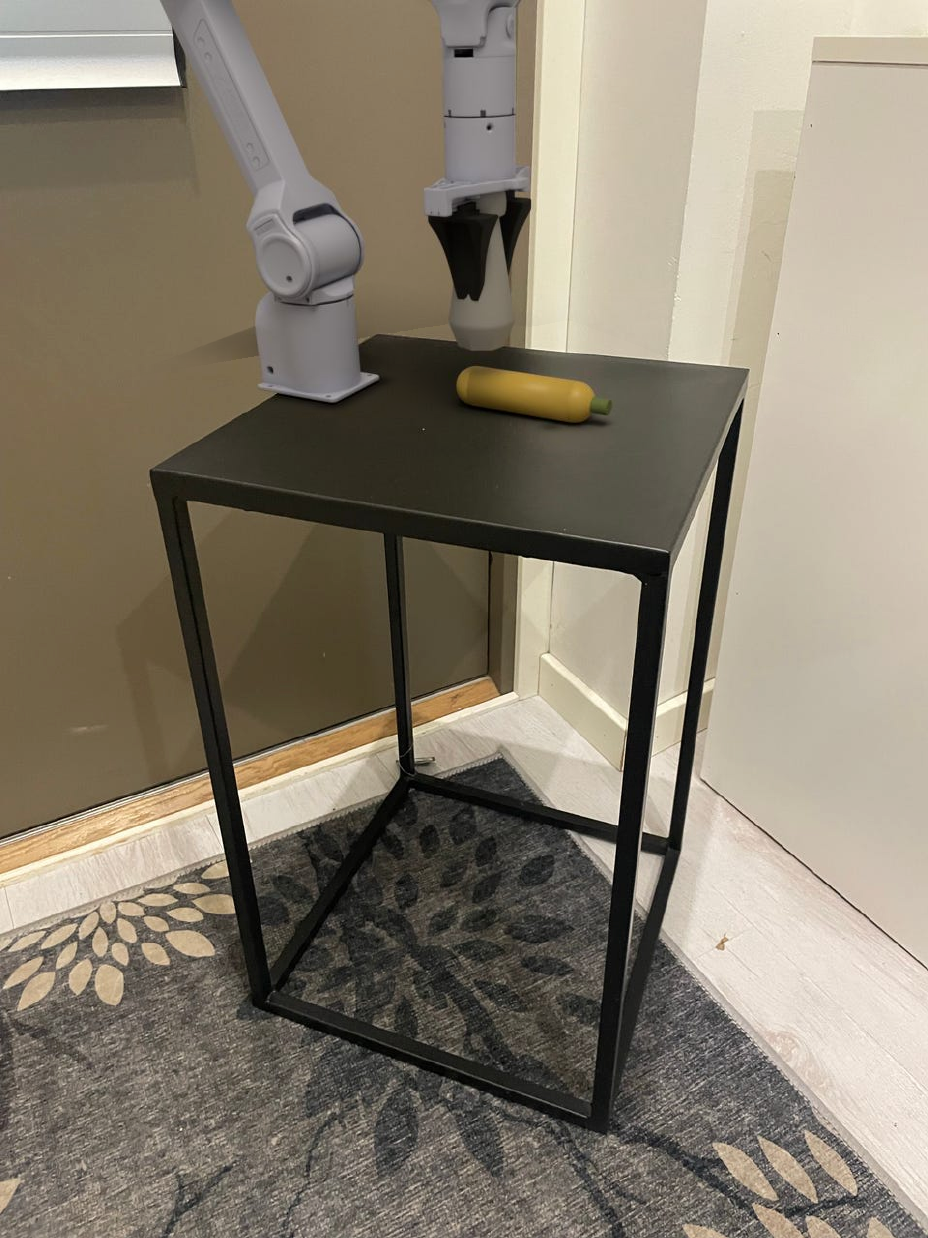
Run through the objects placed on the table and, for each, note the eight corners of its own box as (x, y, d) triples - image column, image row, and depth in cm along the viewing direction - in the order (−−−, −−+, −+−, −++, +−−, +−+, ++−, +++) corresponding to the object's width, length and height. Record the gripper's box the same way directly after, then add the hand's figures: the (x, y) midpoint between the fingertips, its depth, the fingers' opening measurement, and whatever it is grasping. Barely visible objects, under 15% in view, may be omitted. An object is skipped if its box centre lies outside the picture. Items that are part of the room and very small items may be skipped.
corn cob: (449, 407, 86) (448, 369, 84) (468, 395, 88) (467, 358, 87) (600, 433, 80) (602, 393, 78) (615, 420, 82) (618, 381, 80)
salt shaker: (514, 353, 79) (516, 188, 72) (448, 354, 80) (443, 190, 73) (513, 335, 84) (514, 179, 77) (450, 335, 85) (446, 180, 78)
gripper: (479, 124, 65) (482, 318, 73) (564, 108, 76) (558, 279, 83) (396, 122, 68) (406, 309, 76) (488, 107, 79) (490, 272, 86)
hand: (481, 293), depth 80 cm, fingers closed on salt shaker, 4 cm apart
